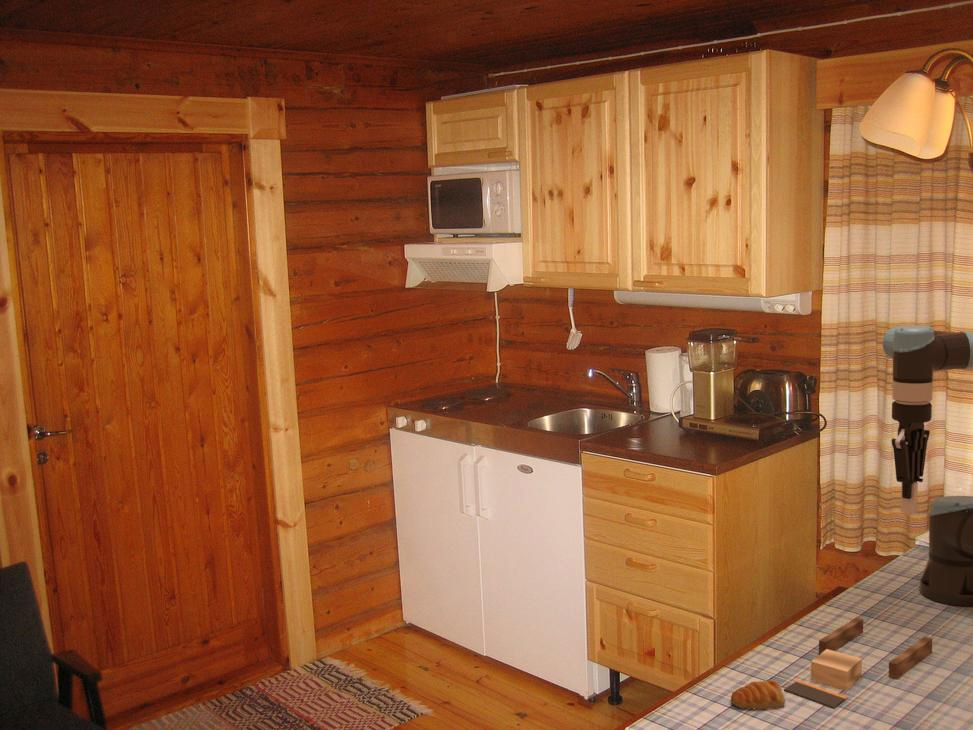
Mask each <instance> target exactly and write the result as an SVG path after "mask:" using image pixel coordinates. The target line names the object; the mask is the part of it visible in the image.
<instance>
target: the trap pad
mask: <svg viewBox="0 0 973 730" xmlns="http://www.w3.org/2000/svg"><path fill="white" fill-rule="evenodd" d="M783 690H784V691H783V692H786V693H789V694H793V695H795V696H796V697H797V696H798V697H800V698H804V699H806V700H809V701H812V702H815V703H817V704H820V705H823V706H826V707H828V708H831V709H835V708H837V707H838V706H840V705H841V704H843V703H844V702H846V701H847V700H848V696H845V695H842V694H840V693H836V692H833V691H831V690H828V689H826V688H825V689H824V688H822V687H819V686H816V685H813V684H811V683H807V682H804V681H802V680H799V679H798V680H795V682H792V684H790V685H788V686H787V687H785V688H784V689H783Z"/></svg>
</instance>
